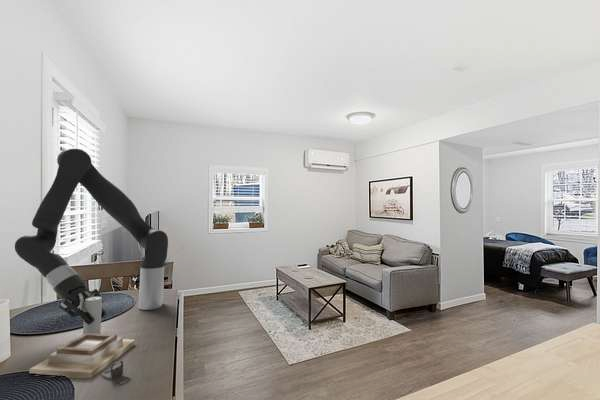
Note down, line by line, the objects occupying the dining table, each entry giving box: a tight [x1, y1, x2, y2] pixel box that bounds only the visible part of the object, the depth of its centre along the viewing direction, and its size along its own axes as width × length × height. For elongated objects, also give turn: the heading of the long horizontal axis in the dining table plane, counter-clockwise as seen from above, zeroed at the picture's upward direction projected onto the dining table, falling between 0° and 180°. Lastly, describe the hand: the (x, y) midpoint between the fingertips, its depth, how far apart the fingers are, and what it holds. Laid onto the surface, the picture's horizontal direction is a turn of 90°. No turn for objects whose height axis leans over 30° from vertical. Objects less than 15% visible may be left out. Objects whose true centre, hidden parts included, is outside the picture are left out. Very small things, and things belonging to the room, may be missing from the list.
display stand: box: [28, 333, 136, 379], centre depth 80 cm, size 18×16×5 cm
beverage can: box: [82, 295, 103, 335], centre depth 95 cm, size 5×5×12 cm
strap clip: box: [101, 360, 132, 386], centre depth 72 cm, size 8×3×4 cm, turn 62°
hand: (97, 319), depth 95 cm, fingers closed on beverage can, 4 cm apart
